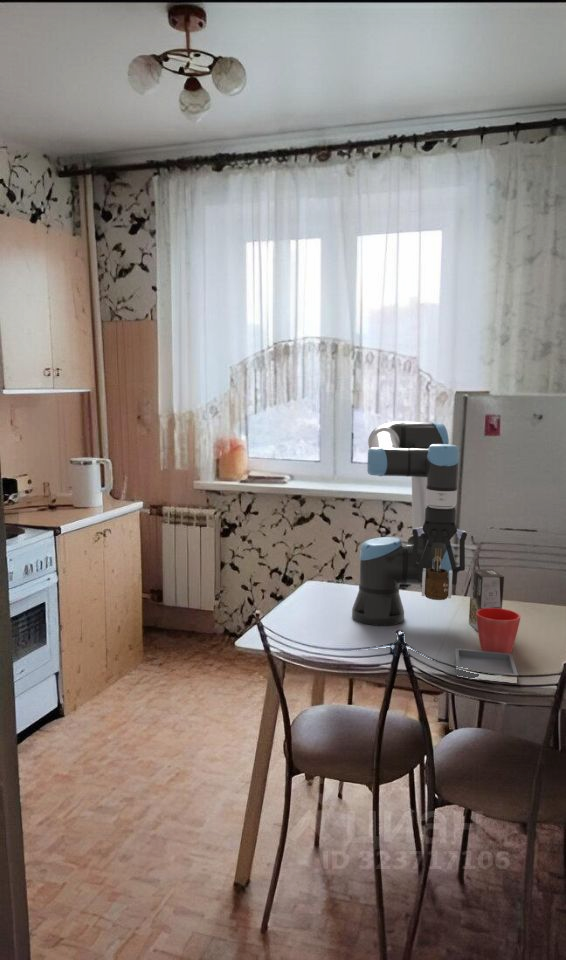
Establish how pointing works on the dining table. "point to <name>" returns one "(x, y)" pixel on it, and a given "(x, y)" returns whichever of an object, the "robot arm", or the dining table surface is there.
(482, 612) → the flower pot
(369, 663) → the dining table surface
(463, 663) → the tray
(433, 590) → the utensil holder
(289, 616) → the dining table surface
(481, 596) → the coffee box
